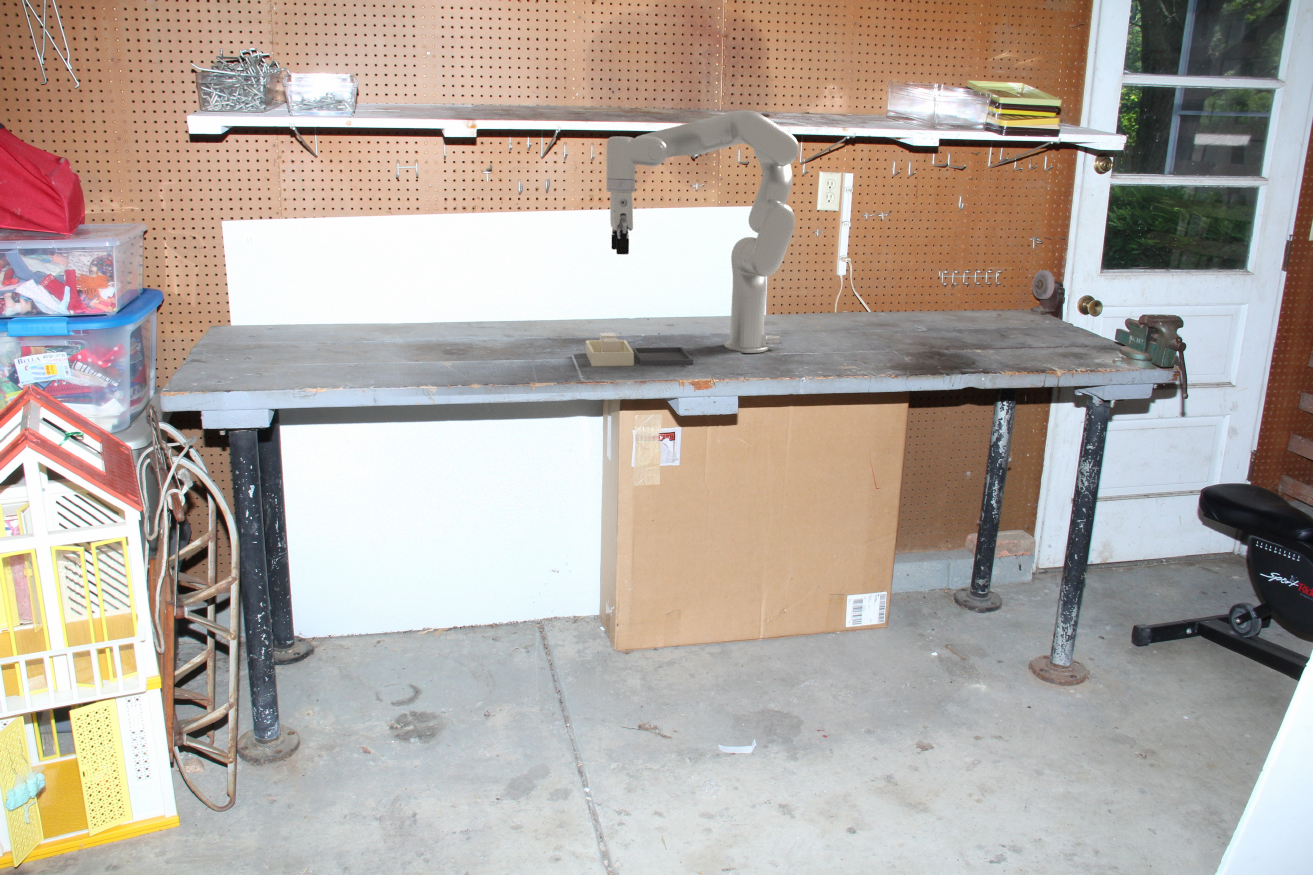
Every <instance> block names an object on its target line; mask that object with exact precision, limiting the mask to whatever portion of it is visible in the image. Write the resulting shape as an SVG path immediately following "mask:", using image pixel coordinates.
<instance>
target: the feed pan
mask: <svg viewBox="0 0 1313 875" xmlns="http://www.w3.org/2000/svg"><path fill="white" fill-rule="evenodd" d="M631 349H632V350H633V352H634V358H635V359H636V361H637V362H638V363H639V364H640V366H680V365H681V366H683V365H685V366H687V365H688V366H691V365H694V358H692V357H691V355H690V354H689V353H688V352H687V351H686V350H685V349H684V348H683V347H682V346H667V347H666V346H665V347H664V346H662V347H661V346H660V347H657V346H656V347H655V346H654V347H653V346H652V347H631Z"/></svg>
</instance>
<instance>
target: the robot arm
mask: <svg viewBox="0 0 1313 875" xmlns="http://www.w3.org/2000/svg"><path fill="white" fill-rule="evenodd" d="M741 144H743V145H748V146H749V147H751V149H753V154H754V156H755V158H756V161H758V164H759V166H760V168H761V181H760V184H759V188H758V191H757V192H756V196H755V199H754V201H753V204H752V207H751V209H750V212H749V215H748V225H749V228H751V230H752V231H753V232H754V233H757V237H753V236H752V237H751V236H748V237H743V238H741V239H740V240H737V241H736V243H735V244H734V246H733V248H732V251H731V258H730V259H731V261H730V262H731V269H732V270H731V271H732V294H731V314H730V333H729V334H730V335H729V340H728V341H726V342H725V343H724V344H723V345H724V348H725V349H728V350H731V351H737V352H739V353H743V354H757V353H764V352H766V351H768V349H769V345H768V344H770V343H772V344H777V343H780V341H781V340H780V336H779V335H772V334H771V335H769V334H768V335H767V333H765V331H764V330H765V329H764V328H765V316H766V315H765V314H766V313H765V312H766V298H767V297H766V296H767V278H766V277H770V276H772V275H774V274H775V273H776V272H777V271H778V270H779V268H780V267H781V264H782V262H783V260H784V258H785V255H786V252H787V249H788V247H789V245H790V242H791V239H792V236H793V235H794V234H793V233H794V232H795V226H796V216H795V213H794V210H793V209H792V208H791V207H790V205H788V204H787V203H788V199H789V197H790V194H791V190H792V185H793V169H792V165H791V164H793V163H794V162H795V161H796V160H797V158H798V157H799V152H800V145H799V143H798V140H797V138H796V137H795V136H794V135H793V134H792V133H790V132H789V131H787V129H786V130H785V129H784V128H783V127H781V126H780V125H778V124H776V123H774V121H772V120H770V119H769V118H767V117H765V116H764V115H763V114H761V113H760V112H757V111H755V110H751V109H750V110H746V109H745V110H744V109H743V110H734V111H729V112H726V113H723V114H718V115H714V116H711V117H708V118H707V117H706V118H703V119H699V120H695V121H692V122H687V123H684V124H680V125H678V126H677V125H676V126H673V127H669V128H664V129H660V130H657V131H656V130H655V131H652V132H649V133H645V134H641V135H638V136H636V137H635V138H634V137H632V136H631V137H630V136H610V137H609V138H607V141H606V192H609V193H610V203H609V204H610V208H609V210H610V211H609V213H610V214H609V216H610V218H609V220H610V227H611V233H612V234H611V249H612V251H613V250H615V251H616V255H629V254H630V239H629V236H630V235H629V231H630V232H632V231H633V230H634V221H633V220H634V216H633V212H634V211H633V210H634V208H633V194H632V193H635V192H636V165H637V166H638V165H639V166H646V167H651V168H652V167H657V166H660V165H662V164H663V163H664V162H665V161H666V159H667V158H673V157H680V156H681V157H682V156H697V155H704V154H707V153H711V152H714V151H718V150H722V149H724V148H728V147H732V146H736V145H741Z"/></svg>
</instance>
